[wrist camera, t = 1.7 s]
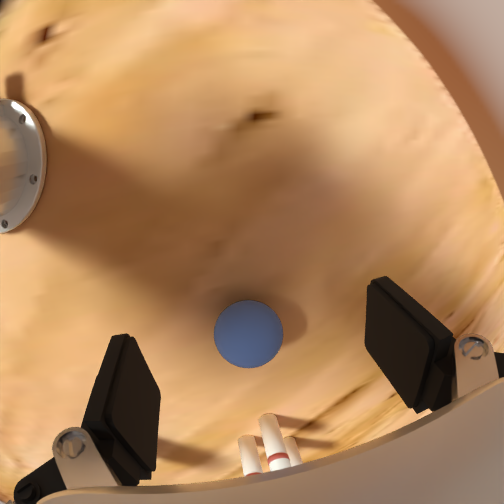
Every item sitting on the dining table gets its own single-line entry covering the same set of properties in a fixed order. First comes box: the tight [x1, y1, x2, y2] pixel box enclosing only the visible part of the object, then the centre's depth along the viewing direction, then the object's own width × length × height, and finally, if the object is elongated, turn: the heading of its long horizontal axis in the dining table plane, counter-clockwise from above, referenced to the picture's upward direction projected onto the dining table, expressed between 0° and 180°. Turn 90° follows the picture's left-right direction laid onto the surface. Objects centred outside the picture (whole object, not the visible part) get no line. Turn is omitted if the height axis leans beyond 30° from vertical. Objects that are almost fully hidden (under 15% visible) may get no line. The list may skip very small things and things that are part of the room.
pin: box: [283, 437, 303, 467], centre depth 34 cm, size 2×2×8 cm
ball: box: [214, 300, 283, 368], centre depth 26 cm, size 6×6×6 cm
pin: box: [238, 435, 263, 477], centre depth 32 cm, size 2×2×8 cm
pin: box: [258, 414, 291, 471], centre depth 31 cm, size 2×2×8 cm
